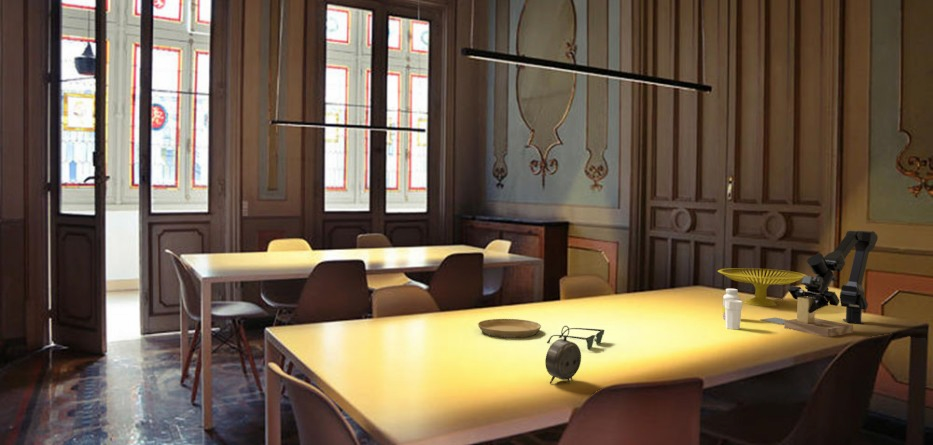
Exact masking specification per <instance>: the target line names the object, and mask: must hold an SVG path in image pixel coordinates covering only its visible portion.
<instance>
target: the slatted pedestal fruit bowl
mask: <svg viewBox="0 0 933 445" xmlns="http://www.w3.org/2000/svg"><path fill="white" fill-rule="evenodd" d="M717 272H718V273H720V274H721V275H723V276H725V277H726V278H728V279H730V280H732V281H734V282H739V283H746V284H747V283H748V284H752V285H753V286H754V290H755V291H754V292H755V293H754V297H752V298H750V299H747V300H746V301H744V303H745V304H748V305H752V306H763V307H773V306H774V307H775V306H776V305H777V303H776V302H774V301H772V300H770V299H769V298H767V291H768V290H767V289H768V287H770V285H775V286H776V285H780V286H782V285H789V284H793V283H795V282H798V281H800V280H801V281H802V278H803V276H808V275H807V274H805V273H801V272H796V271H791V270H784V269H783V270H780V269H769V268H753V267H751V268H750V267H748V268H747V267H745V268H744V267H743V268H741V267H740V268H739V267H738V268H737V267H735V268H734V267H733V268H721V269H719V270H717ZM758 272H759V273H758ZM765 273H766V274H765Z"/></svg>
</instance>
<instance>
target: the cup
mask: <svg viewBox="0 0 933 445" xmlns="http://www.w3.org/2000/svg"><path fill="white" fill-rule="evenodd" d="M742 309H743V300H741V299H740V300H725V319H724V320H725V328H726V329H727V328H728V329H727V330H732V329H738V330H740V329H741V318H742Z"/></svg>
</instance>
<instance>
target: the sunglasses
mask: <svg viewBox="0 0 933 445" xmlns="http://www.w3.org/2000/svg"><path fill="white" fill-rule="evenodd" d="M569 330H583V331H595V332H597V333H596V334H595V335H594V334H591V335H590V336H587V337H583V336H572V335H568V336H567V335H566V336H567V338H570V339H577V340H585V341H586V348H587V350H590V349H592V347H593V344H594V342H595V344H596V345H597V346H598V345H599V344H601V343H602V340H603V336H604V334H605V329H597V328H583V327H582V328H581V327H573V328H572V327H571V328H570V327H569ZM566 332H568V328H567V329H565V330H563V331H562V334H563V336H564V334H565V333H566ZM562 334H553V335H550V337H549V338H548V340H547V341H546V343H547V344H550V343H551V342H550V341H551V340H552V338H553V337H558V339H563V338H564V337H563V336H562Z"/></svg>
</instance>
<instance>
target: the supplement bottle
mask: <svg viewBox="0 0 933 445" xmlns="http://www.w3.org/2000/svg"><path fill="white" fill-rule="evenodd" d="M738 291H739V290H738V289H736V288H725V293H726V294H723V297H722V318H723V319H724V320H725V300H740V301H741V297H740V295H738Z"/></svg>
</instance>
